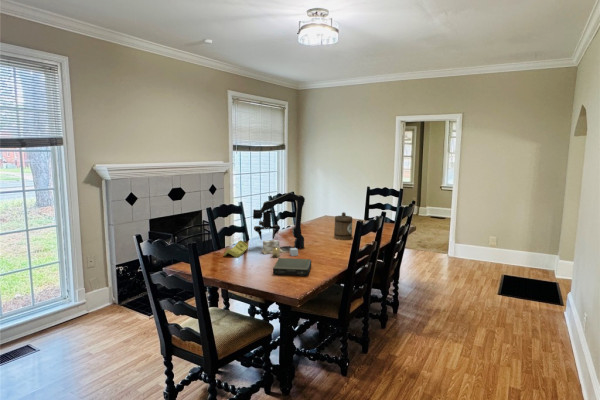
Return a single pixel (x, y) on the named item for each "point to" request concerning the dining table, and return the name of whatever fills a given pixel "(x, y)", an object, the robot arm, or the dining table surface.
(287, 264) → the network switch
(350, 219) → the wooden container
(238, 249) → the curled yellow paper
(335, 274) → the dining table surface
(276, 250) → the brass cylinder
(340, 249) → the dining table surface
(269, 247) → the mounted unit
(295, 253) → the grey block
